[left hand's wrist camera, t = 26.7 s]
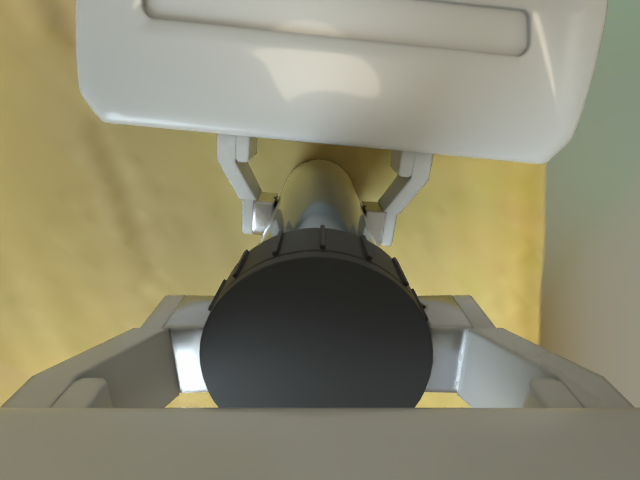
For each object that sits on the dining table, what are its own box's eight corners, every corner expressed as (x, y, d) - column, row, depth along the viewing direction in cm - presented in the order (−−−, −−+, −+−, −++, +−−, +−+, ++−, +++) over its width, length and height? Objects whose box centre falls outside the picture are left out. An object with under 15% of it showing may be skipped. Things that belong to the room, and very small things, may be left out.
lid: (355, 185, 9) (364, 207, 7) (446, 345, 10) (473, 398, 8) (179, 286, 10) (146, 329, 8) (286, 420, 11) (280, 482, 9)
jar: (295, 149, 22) (251, 231, 8) (363, 171, 23) (435, 285, 9) (275, 216, 24) (210, 385, 10) (340, 236, 24) (370, 425, 10)
